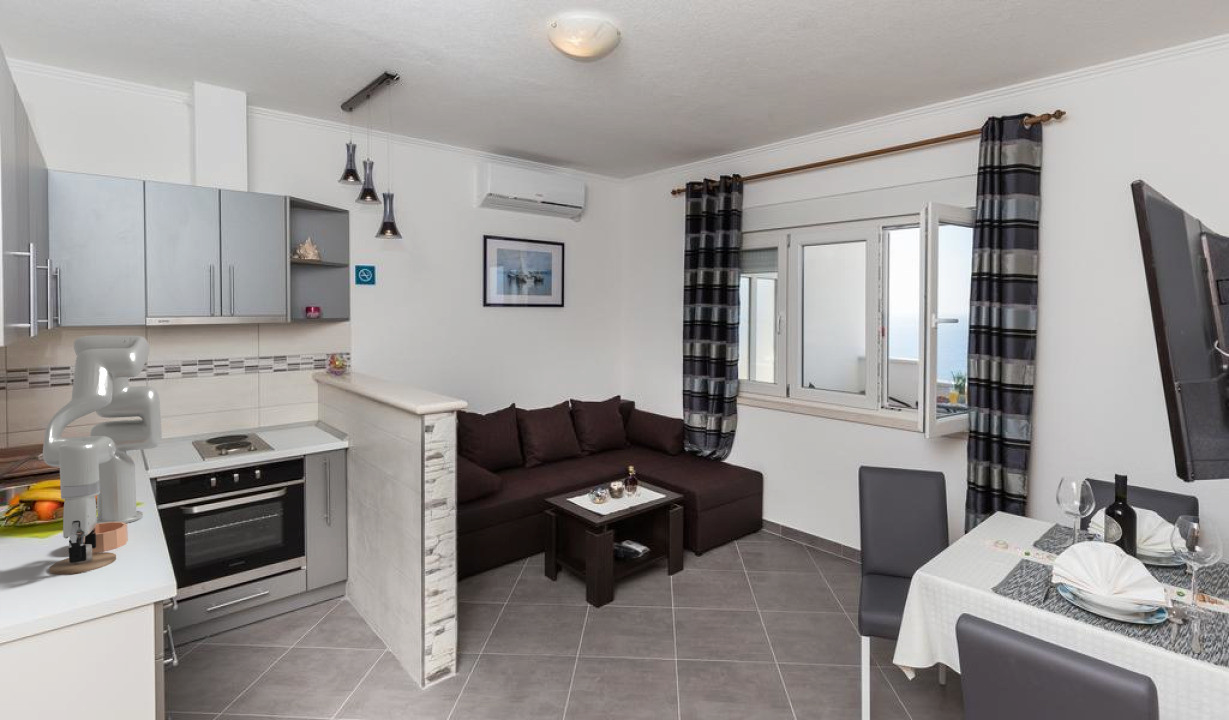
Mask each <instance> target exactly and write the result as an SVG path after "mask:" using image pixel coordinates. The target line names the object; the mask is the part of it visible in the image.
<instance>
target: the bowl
mask: <svg viewBox="0 0 1229 720" xmlns="http://www.w3.org/2000/svg"><path fill="white" fill-rule="evenodd" d="M95 533H96V548H93V549H92V553H99V552H108V551H112V550H114V549H118V548H120V547H123V546H124V545H126V544H127V542H129V539H128V538H129V537H128V536H129V535H128V533H129V532H128V523H124V522H106V523H99V524H96V526H95ZM78 534H81V533H78Z"/></svg>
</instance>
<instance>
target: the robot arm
mask: <svg viewBox="0 0 1229 720" xmlns="http://www.w3.org/2000/svg"><path fill="white" fill-rule="evenodd" d="M73 350H74V352H75V355H76V359H75V363H74V364H75V366H74V371H73V372H74V373H73V374H74V375H73V382H72V390H71V398H70V401H69V402H68V403H66V404H65V405H63V407H61V408H60V409H59V410H58V411H57V412H56V413H55V414H54V415H53V416H52V417H51V419H50V420H49V422H48V423H47V426H46V427H45V432H44V439H43V445H42V459H43V461H44V462H45V464H46V465H47V466H49V467H54V468H59V478H60V479H59V483H60V499H62V500H64V504H63V513H62V514H63V517H62V518H63V519H62V520H63V521H62V522H63V523H62V525H63V526H62V534H63V535H62V537H63V538H64V539H68V538H69V539H68V558H69V562H70V563H74V562H81V561H85V560H86V559H87V557H86V545H85V544H91V545H92V549H93V548H96V533H95V526H96V524H99V523H106V522H124V523H127V524H129V523H132V522H135V521H138V520H140V519H142V518H143V516H144V513H143V511H140V510H137V494H136V493H137V486H136V484H137V483H136V465H135V462H134V460H133V458H131V456H129V455H128V454H127V453H126V451H127V452H128V451H138V450H149V449H155V448H157V447H159V446H160V444H161V443H162V437H163V435H162V432H163V431H162V420H161V419H162V418H161V405H160V397H159V393H158V391H157V390H156V389H155V388H154V387H152V386H145V385H144V386H143V385H142V386H130V385H129V378H136V377H137V376H139V375H141V373H142V371H143V369H144V367H145V364H146V362H147V360H148V358H149V355H150V345H149V342H148V339H147V338H145V337H144V336H141V335H106V334H105V335H104V334H103V335H84V336H80V337H78V338H76V339H75V341H74V342H73ZM92 413H96V415H98V417H101V418H104V419H105V418H106V419H107V418H108V419H110V418H111V419H114V418H132V417H133V418H134V417H140V419H127V420H125V419H124V420H111V421H109V420H108V421H104V422H100V423H97V424H96V425H94V426H93V427H92V428H91V430H90V433H89V434H90V435H88V436H73V437H62V434H63V432H64V431H65V428H67V427H68V426H69V425H70V424H71V423H72V422H74V421H76V420H78V419H79V418H80V419H81V418H82V417H84V416H87V415H90V414H92ZM78 533H81V534H78Z"/></svg>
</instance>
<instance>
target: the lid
mask: <svg viewBox="0 0 1229 720" xmlns="http://www.w3.org/2000/svg"><path fill="white" fill-rule="evenodd" d="M85 545H86V557H87V559H86V560H85V561H81V562H74V563H70V562H69V557H68V558H65V559H61V560H59V561H57V562H55V563H53V564H52V565H50V566H49V570H48V571H49V573H50V574H52V575H57V576H59V575H60V576H61V575H62V576H67V575H68V576H73V575H79V574H85V573H89V572H92V571H94V570H98V569H102V568H103V567H106V566H109V565H110V564H112V563H114V562H116V560H117V555H116V553H114V552H108V551H103V552H96V553H92V545H91V544H85Z"/></svg>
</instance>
